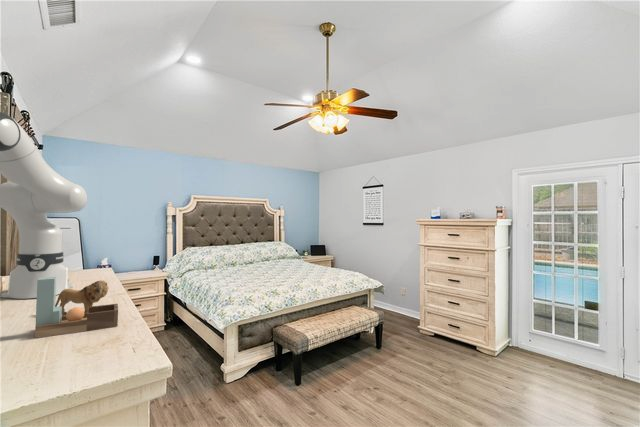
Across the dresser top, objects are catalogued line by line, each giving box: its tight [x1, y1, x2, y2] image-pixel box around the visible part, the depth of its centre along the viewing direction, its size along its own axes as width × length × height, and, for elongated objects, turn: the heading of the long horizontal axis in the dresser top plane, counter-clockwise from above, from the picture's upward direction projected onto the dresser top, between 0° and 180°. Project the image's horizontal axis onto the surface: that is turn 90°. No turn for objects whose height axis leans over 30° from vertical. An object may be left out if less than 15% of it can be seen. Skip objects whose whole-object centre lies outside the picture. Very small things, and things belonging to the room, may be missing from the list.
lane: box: [34, 312, 88, 339], centre depth 74 cm, size 7×9×2 cm
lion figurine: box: [55, 280, 109, 316], centre depth 87 cm, size 15×5×9 cm, turn 103°
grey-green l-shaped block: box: [34, 277, 63, 329], centre depth 73 cm, size 4×4×11 cm
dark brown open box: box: [86, 303, 119, 332], centre depth 78 cm, size 7×6×4 cm
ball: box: [65, 307, 85, 322], centre depth 75 cm, size 4×4×4 cm
